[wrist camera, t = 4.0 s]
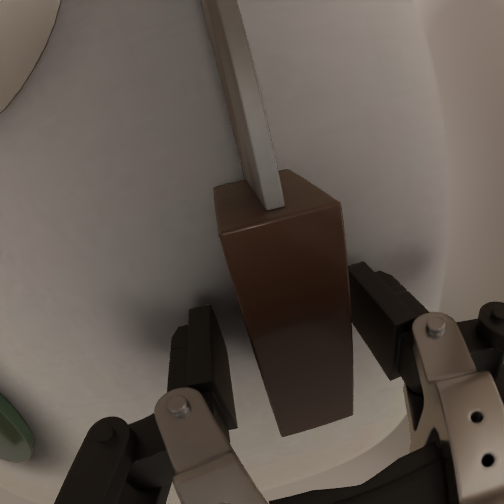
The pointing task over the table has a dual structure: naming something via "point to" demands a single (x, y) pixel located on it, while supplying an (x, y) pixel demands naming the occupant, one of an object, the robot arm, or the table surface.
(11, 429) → the cake stand
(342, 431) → the table surface
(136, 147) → the table surface
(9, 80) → the cup
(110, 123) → the table surface
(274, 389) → the knife
